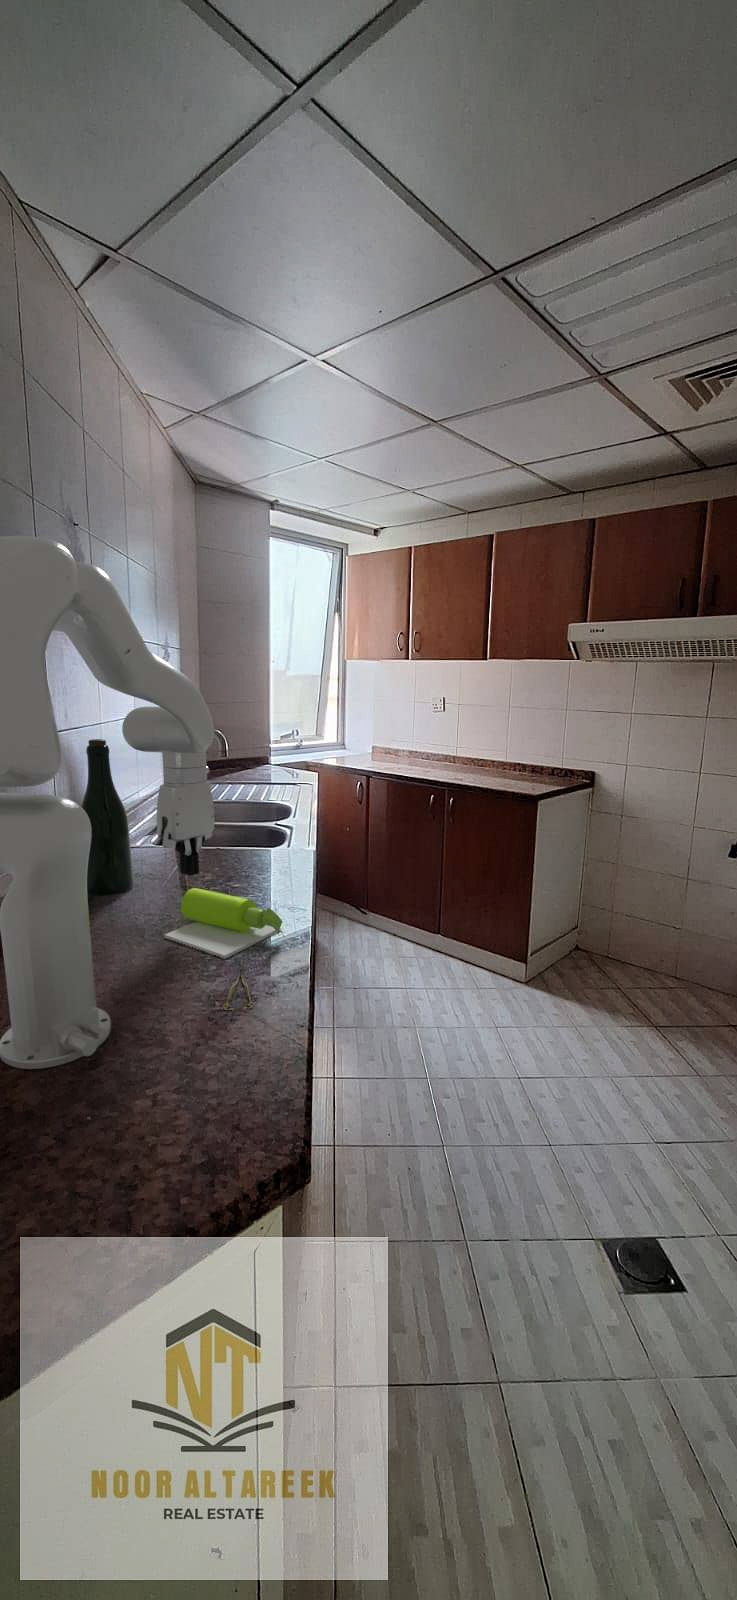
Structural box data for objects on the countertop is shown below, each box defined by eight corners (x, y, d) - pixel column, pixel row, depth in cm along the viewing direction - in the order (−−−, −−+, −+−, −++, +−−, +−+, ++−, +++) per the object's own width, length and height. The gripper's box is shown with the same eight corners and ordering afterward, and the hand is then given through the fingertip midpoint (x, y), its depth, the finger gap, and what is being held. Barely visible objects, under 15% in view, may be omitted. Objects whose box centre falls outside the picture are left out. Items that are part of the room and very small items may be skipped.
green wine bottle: (136, 880, 137) (126, 736, 131) (130, 895, 127) (120, 741, 121) (86, 883, 134) (75, 737, 128) (77, 899, 124) (63, 741, 118)
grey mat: (280, 930, 110) (280, 927, 110) (224, 958, 98) (224, 955, 98) (222, 913, 118) (222, 910, 118) (164, 937, 106) (164, 934, 106)
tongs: (248, 971, 96) (248, 960, 95) (254, 1017, 83) (254, 1004, 83) (221, 974, 95) (221, 962, 94) (223, 1021, 82) (223, 1008, 82)
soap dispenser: (188, 879, 112) (275, 897, 103) (207, 897, 117) (291, 915, 108) (172, 907, 109) (261, 928, 100) (192, 923, 114) (278, 945, 105)
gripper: (202, 769, 115) (206, 860, 119) (136, 779, 103) (142, 880, 106) (230, 772, 111) (233, 867, 115) (165, 783, 99) (171, 888, 102)
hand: (189, 873), depth 110 cm, fingers closed
